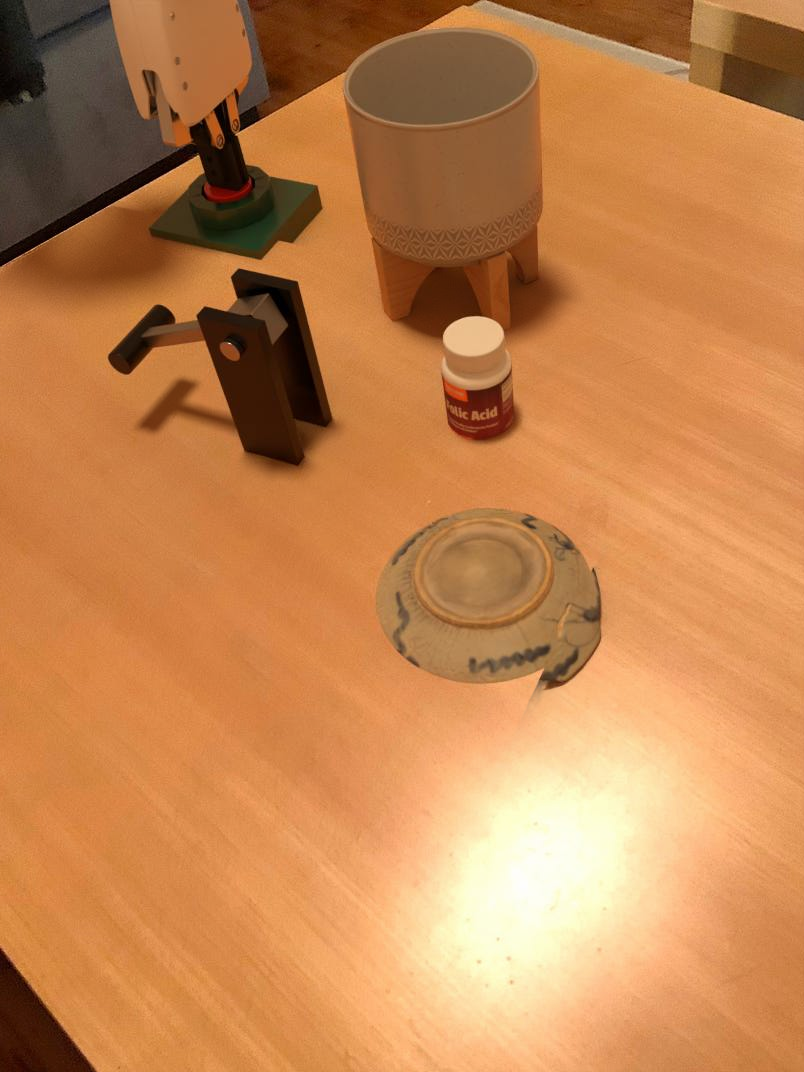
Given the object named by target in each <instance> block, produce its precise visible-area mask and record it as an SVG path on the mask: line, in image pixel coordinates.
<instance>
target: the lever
mask: <svg viewBox="0 0 804 1072" xmlns="http://www.w3.org/2000/svg"><path fill="white" fill-rule="evenodd" d="M226 311H227V312H231V313H236V314H240V315H244V316H248V317H252V318H257V319H261V320H265V322H266V326H267V329H268V332H269V336H270V339H271V343H272V345H273V344H274V342H275V341H276V340H277V339H278V338H279V336H280V335H281V334H282V333H283V331H284V330H285V329H286V328H287V326H288V323H287V322H286V320H285V319H284V317H283V315H282V314H281V312H280V310H279V309H278V307H277V306H276V304H275V302H274V301H273V299H272V297H271V296H270V294H269V293H268V294H262V295H256V296H250V297H244V298H239V299H237V298H236V300H235V302H233V304H232V305H231V306H230V307H229V309H227V310H226ZM198 342H205V339H204V337H203V334H202V331H201V328H200V325H199V322H198V320H197V319H194V320H189V321H183V322H176V317H175V315H174V313H173V312H172V311H171V309H169V308H168V307H167V306H165V305H163V304H153V306H152V307H151V308H150V309H149V311H148V312H147V313H146V314H145V315H144V316H143V317H142V318H141V319H140V320H139V321H138V322H137V323H136V325H134V326H133V328H132V329H131V330H129V332H128V333H127V334H126V335H125V336H124V337H123V338H122V339H121V340H120V342H119V343H118V344H117V345H115V347H114V348H113V349H112V350H111V351H110V352H109V353H108V355H107V360H108V362H109V365H110V366H111V367H112V368H113V369H114V370H116V371H117V372H118V373H120V374H122V375H124V376H128V375H131V374H132V373H133V372H134V371H135V369H136V368H137V367H138V366H139V365H140V364H141V362H143V360H144V359H145V358H146V357H147V356H148V355H149V354H150V353H151V352H152V351H153V350H154V349H155V348H163V347H170V346H179V345H184V344H191V343H192V344H193V343H198Z"/></svg>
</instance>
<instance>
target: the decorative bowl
mask: <svg viewBox="0 0 804 1072" xmlns="http://www.w3.org/2000/svg"><path fill="white" fill-rule="evenodd" d="M600 594H601V590H600V583H599V579H598V575H597V572H596V570H595V568H594V566H592V569H591V568H590V566H589V563H588V561H587V560H586V558H585V556H584V555H583V553H582V551H581V550H580V548H579V547H578V546H577V545H576V543H575V542H574V541H573V540H572V539H571V538H570V537H569V536H568V535H567V534H565V533H564V532H563V531H562V530H560V529H559V528H557V527H556V526H554V525H553V524H552V523H549V522H547V520H544V519H542V518H539V517H537V516H534V515H531V514H528V513H525V512H521V511H517V510H510V509H505V508H490V507H489V508H487V507H486V508H473V509H467V510H461V511H457V512H454V513H451V514H448V515H445V516H443V517H440V518H437V519H435V520H434V521H432V522H431V524H428V525H426V526H424V527H422V528H420V529H418V530H416V531H415V532H414V533H412V534H411V536H409V537H408V538H407V539H405V541H404V542H402V543H401V545H400V546H399V547H398V548H396V550H395V551H394V552H393V554H392V555H391V556H390V558H389V559H388V561H387V562H386V564H385V566H384V567H383V570H382V571H381V572H380V575H379V578H378V581H377V585H376V591H375V607H376V608H375V610H376V611H375V612H376V617H377V620H378V623H379V625H380V628H381V630H382V631H383V633H384V636H385V637H386V638H387V640H388V641H389V643H390V644H391V645H392V647H393V648H394V649H395V650H396V652H398V654H400V656H402V657H403V658H404V659H405V660H406V661H408V662H409V663H411V664H412V665H414V666H415V667H416V668H418V669H420V670H422V671H424V672H426V673H427V674H430V675H432V676H435V677H438V678H441V679H444V680H447V681H448V680H449V681H452V682H456V683H463V684H473V685H474V684H475V685H486V684H497V683H504V682H509V681H514V680H518V679H521V678H525V677H527V676H530V675H533V674H535V673H537V672H539V671H542V670H543V671H542V673H541V674H540V677H539V680H538V681H540V680H541V681H547V682H557V683H558V682H559V683H563V682H567V681H568V680H569V679H570V678H572V676H574V675H575V674H576V673H577V672H578V671H579V670H580V669H581V668H582V667H583V666H584V665H585V664H586V662H587V661H588V660H589V658H590V657H591V656H592V654H593V652H594V651H595V650H596V649H597V646H598V644H599V642H600V640H601V636H602V629H601V623H600V610H601V595H600Z"/></svg>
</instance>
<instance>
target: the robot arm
mask: <svg viewBox="0 0 804 1072" xmlns="http://www.w3.org/2000/svg"><path fill="white" fill-rule="evenodd" d="M109 7H110V11H111V17H112V22H113V26H114V27H113V28H114V33H115V36H116V40H117V43H118V48H119V51H120V56H121V59H122V63H123V66H124V71H125V73H126V77H127V80H128V84H129V86H130V90H131V93H132V96H133V99H134V103H135V105H136V107H137V111H138V112H139V114H140V116H141V117H142V119H144V120H147V121H151V120H152V121H153V120H155V119H156V118H158V122H159V128H160V133H161V138H162V142H163V144H164V145H166V146H171V147H176V148H177V147H178V148H181V147H183V146H186V145H188V144H191V145H195V147H196V150H197V153H198V156H199V160H200V163H201V166H202V170H203V173H205V176H206V179H207V182H208V184H209V185H210V186H212V187H218V188H223V189H228V190H233V191H239V190H240V189H241V188H242V187H243V184H246V183H247V182H248V181H249V175H248V171H247V168H246V165H247V164H246V161H245V157H244V153H243V150H242V147H241V143H240V139H239V135H236V134H238V133H239V132H240V128H241V122H240V121H241V120H240V117H239V111H238V107H239V100H240V95H241V94H242V93H243V90H244V89H245V88H246V86H247V84H248V82H249V74H250V72H251V69H252V66H253V59H252V52H251V51H252V50H251V47H250V42H249V37H248V33H247V29H246V25H245V22H244V18H243V14H242V11H241V8H240V5H239V2H238V0H109Z"/></svg>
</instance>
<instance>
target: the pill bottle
mask: <svg viewBox="0 0 804 1072" xmlns="http://www.w3.org/2000/svg"><path fill="white" fill-rule="evenodd" d="M442 347H443V355H444V356H443V357H442V360H441V364H440V374H441V380H442V381H441V382H442V387H443V389H442V390H443V396H444V402H445V403H444V404H445V409H446V410H445V411H446V419H447V424H448V426H449V428H450V429H451V431H452V432H453V433H455V435H457V436H459V437H461V438H464V439H468V440H474V441H481V440H483V441H484V440H489V439H492V438H495V437H497V436H501V435H502V434H504V433H505V432H507V430H508V429H509V428H510V427H511V425H512V424H513V422H514V421H515V414H516V413H515V402H514V383H513V361H512V358H511V357H512V356H511V355H510V353H509V351H508V350H507V348H506V338H505V330H504V331H503V329H502V327H501V326H500V325H499V324H498V323H497V322H496V321H494V320H492V319H490V318H487V317H483V316H479V315H475V316H465V317H462V318H460V319H459V318H458V319H457V320H455V321H453V322H451V324H449V325H448V326H447V327H446V329H445V330H444V332H443V335H442Z"/></svg>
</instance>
